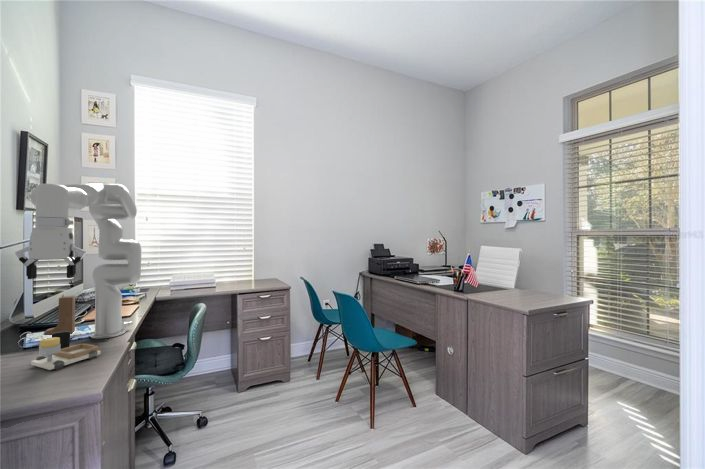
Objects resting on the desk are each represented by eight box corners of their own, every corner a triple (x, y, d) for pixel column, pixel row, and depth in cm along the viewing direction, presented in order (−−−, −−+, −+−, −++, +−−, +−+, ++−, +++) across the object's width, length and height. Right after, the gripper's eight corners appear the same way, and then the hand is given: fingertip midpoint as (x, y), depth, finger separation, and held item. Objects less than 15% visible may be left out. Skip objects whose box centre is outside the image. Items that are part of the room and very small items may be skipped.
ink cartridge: (69, 350, 123) (70, 329, 123) (69, 352, 121) (69, 331, 122) (51, 353, 120) (52, 332, 120) (51, 355, 118) (52, 333, 118)
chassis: (82, 352, 122) (82, 338, 122) (100, 356, 118) (100, 342, 118) (30, 367, 108) (31, 352, 108) (49, 372, 104) (50, 357, 104)
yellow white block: (54, 349, 111) (54, 336, 111) (63, 351, 109) (63, 338, 109) (36, 354, 107) (36, 340, 107) (44, 356, 105) (44, 342, 105)
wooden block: (43, 342, 132) (44, 298, 132) (47, 339, 136) (48, 297, 136) (71, 339, 136) (72, 297, 136) (75, 336, 140) (75, 295, 140)
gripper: (90, 224, 107) (90, 275, 107) (24, 223, 101) (24, 277, 101) (80, 223, 100) (79, 278, 100) (8, 222, 94) (7, 280, 94)
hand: (51, 278), depth 100 cm, fingers open, 9 cm apart
